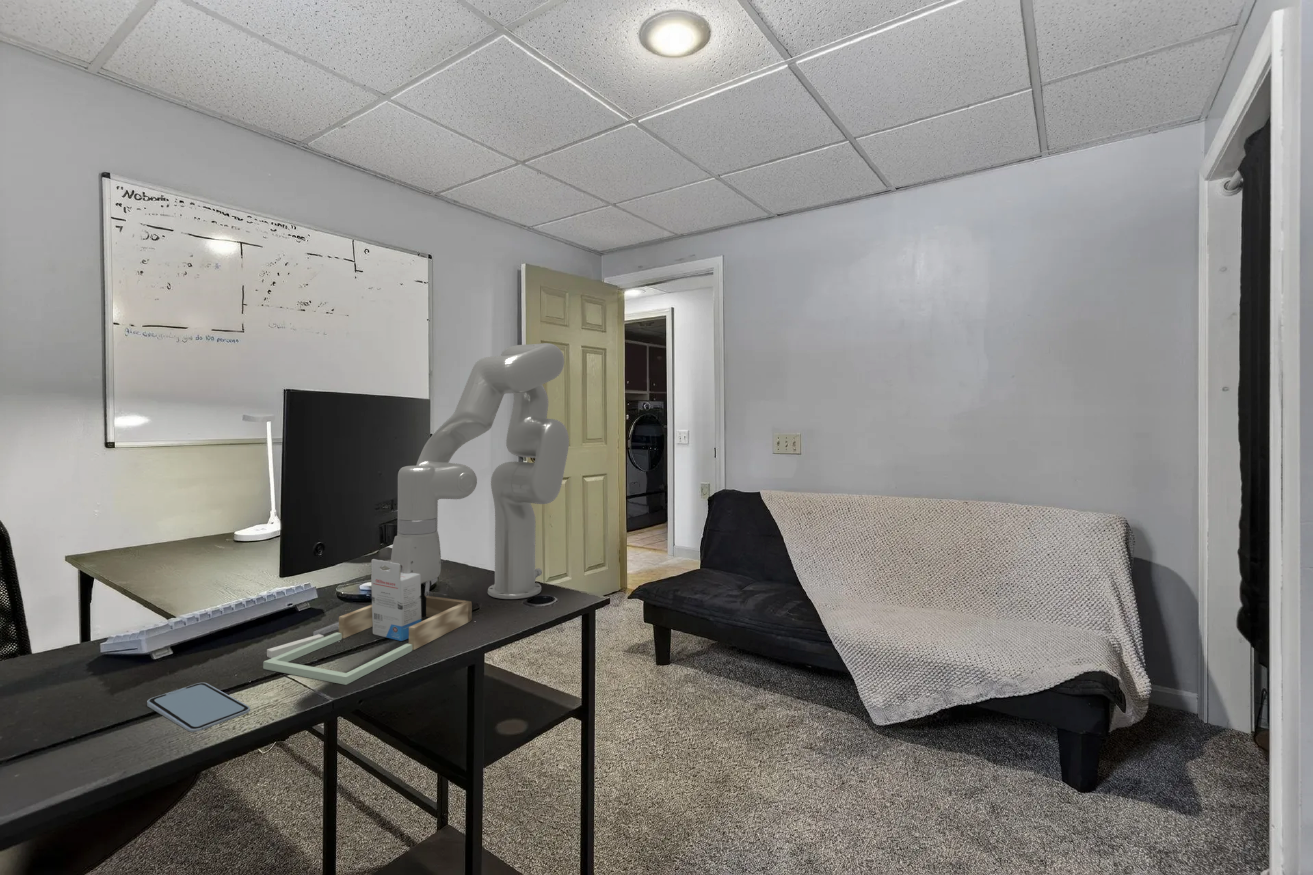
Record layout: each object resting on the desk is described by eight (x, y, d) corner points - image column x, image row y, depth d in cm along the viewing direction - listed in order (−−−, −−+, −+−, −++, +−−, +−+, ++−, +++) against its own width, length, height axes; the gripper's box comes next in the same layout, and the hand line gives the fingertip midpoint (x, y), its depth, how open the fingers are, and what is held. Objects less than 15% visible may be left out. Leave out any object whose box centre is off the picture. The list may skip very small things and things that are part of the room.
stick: (319, 642, 111) (319, 634, 111) (324, 644, 111) (323, 635, 110) (266, 658, 104) (266, 649, 104) (271, 660, 103) (271, 651, 103)
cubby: (403, 611, 129) (403, 592, 129) (471, 620, 124) (471, 601, 124) (338, 637, 113) (338, 616, 113) (414, 649, 108) (414, 627, 107)
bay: (336, 638, 113) (336, 632, 113) (412, 650, 107) (412, 644, 107) (263, 668, 99) (263, 661, 99) (346, 684, 93) (346, 677, 93)
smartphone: (192, 731, 78) (144, 700, 86) (192, 738, 78) (144, 706, 86) (253, 708, 85) (203, 681, 92) (253, 714, 85) (203, 687, 92)
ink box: (423, 633, 116) (421, 558, 115) (401, 642, 111) (400, 563, 111) (393, 626, 120) (391, 553, 119) (371, 634, 115) (369, 558, 115)
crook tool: (362, 617, 125) (362, 612, 125) (381, 620, 123) (382, 615, 123) (313, 636, 114) (313, 631, 114) (333, 640, 112) (333, 634, 112)
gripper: (427, 520, 129) (426, 604, 129) (374, 531, 114) (374, 626, 115) (456, 522, 126) (456, 608, 127) (406, 534, 112) (405, 631, 113)
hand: (417, 616), depth 121 cm, fingers closed
